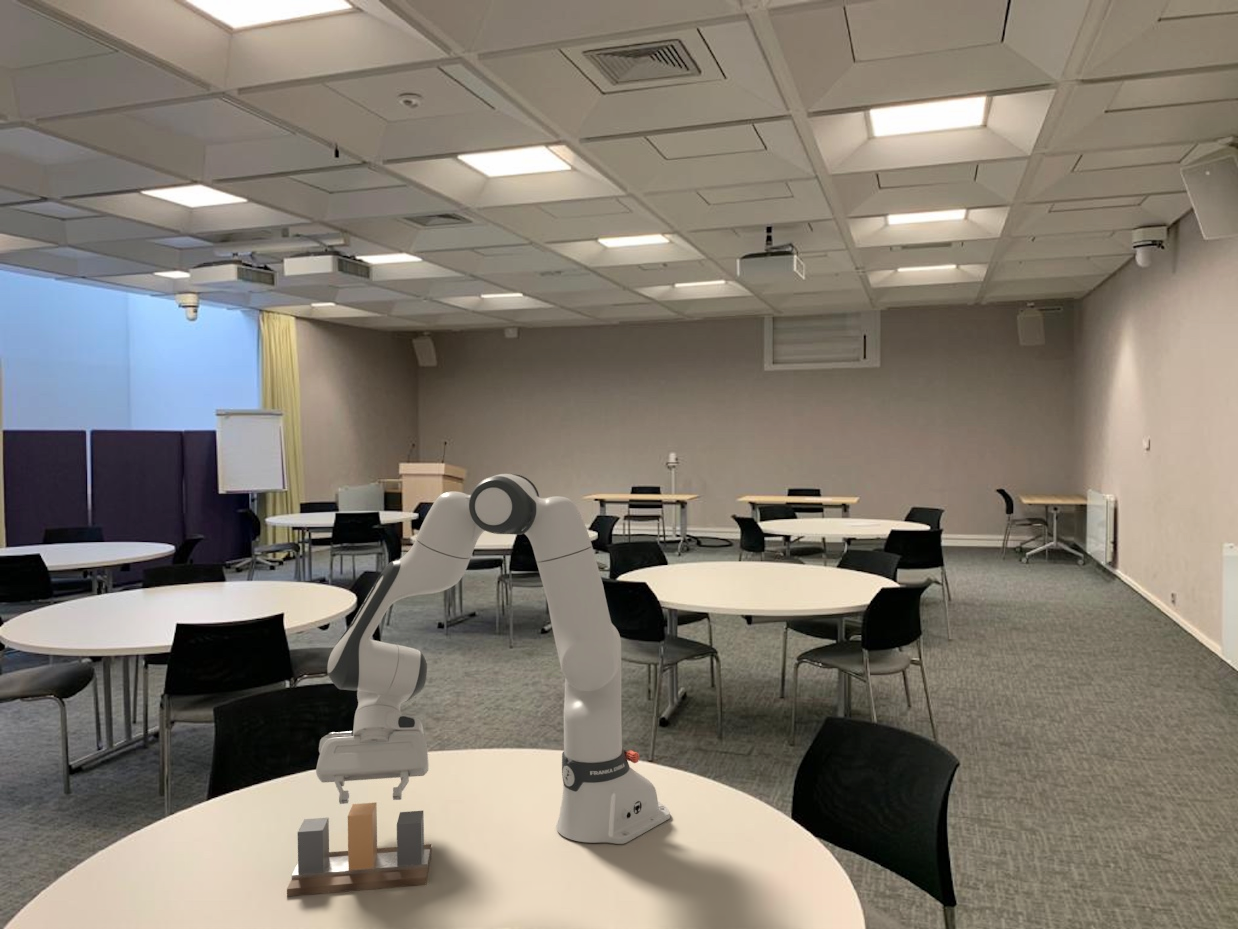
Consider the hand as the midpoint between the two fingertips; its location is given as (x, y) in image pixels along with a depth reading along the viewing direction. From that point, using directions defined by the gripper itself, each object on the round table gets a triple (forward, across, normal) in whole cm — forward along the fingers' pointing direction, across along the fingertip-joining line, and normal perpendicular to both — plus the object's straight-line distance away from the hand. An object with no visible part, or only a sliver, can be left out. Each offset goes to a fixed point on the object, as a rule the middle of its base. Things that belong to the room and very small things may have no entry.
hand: (370, 800), depth 152 cm
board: (+13, 0, -1) cm, 13 cm away
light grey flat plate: (+12, 0, -2) cm, 12 cm away
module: (+12, 0, -2) cm, 12 cm away
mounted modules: (+12, 0, -2) cm, 12 cm away
